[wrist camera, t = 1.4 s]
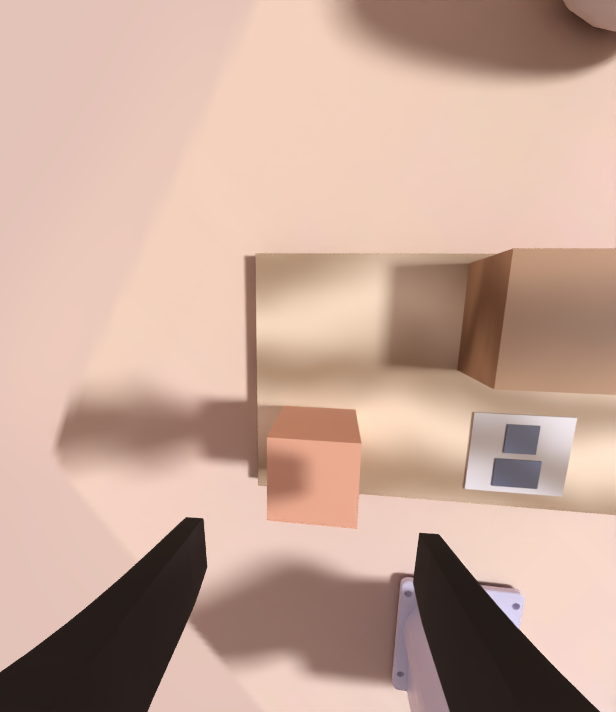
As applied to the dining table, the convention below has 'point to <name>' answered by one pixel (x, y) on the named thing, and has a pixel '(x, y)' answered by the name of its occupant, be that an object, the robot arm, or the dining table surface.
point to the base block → (542, 321)
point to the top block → (314, 467)
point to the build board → (420, 386)
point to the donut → (595, 12)
